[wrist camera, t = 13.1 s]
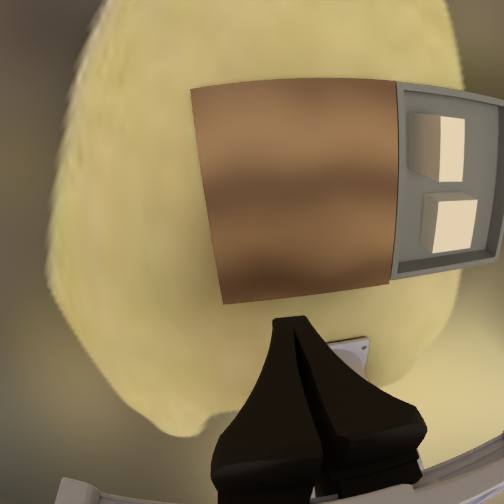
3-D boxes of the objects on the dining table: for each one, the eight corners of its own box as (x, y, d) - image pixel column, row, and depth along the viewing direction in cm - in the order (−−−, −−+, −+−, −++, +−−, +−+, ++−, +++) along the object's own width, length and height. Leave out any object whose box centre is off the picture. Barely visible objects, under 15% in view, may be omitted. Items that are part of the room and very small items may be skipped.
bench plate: (377, 268, 23) (388, 283, 21) (224, 286, 24) (223, 304, 21) (379, 82, 17) (395, 81, 15) (196, 91, 17) (190, 89, 15)
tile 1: (408, 167, 20) (430, 167, 20) (438, 181, 16) (462, 181, 16) (408, 112, 18) (431, 114, 18) (440, 116, 14) (464, 119, 14)
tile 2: (432, 253, 20) (419, 242, 22) (470, 247, 20) (456, 237, 22) (438, 201, 19) (424, 193, 20) (477, 199, 19) (462, 191, 20)
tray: (485, 251, 23) (497, 261, 22) (380, 267, 23) (390, 280, 22) (498, 100, 17) (514, 102, 15) (383, 83, 17) (396, 81, 16)
